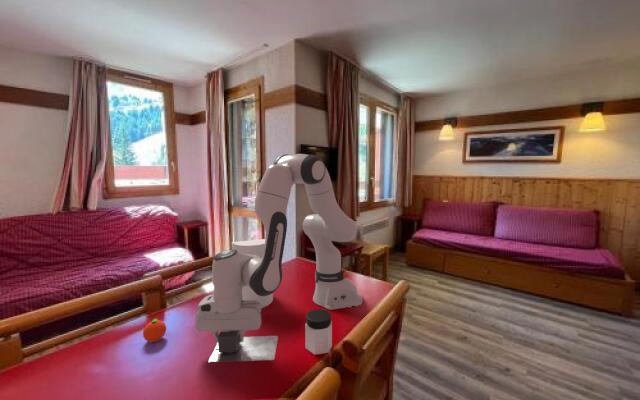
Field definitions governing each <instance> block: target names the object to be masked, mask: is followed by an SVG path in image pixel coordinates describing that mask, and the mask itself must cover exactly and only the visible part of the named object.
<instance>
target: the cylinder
mask: <svg viewBox="0 0 640 400" xmlns="http://www.w3.org/2000/svg"><path fill="white" fill-rule="evenodd" d="M265 240H266V238H262V239H261V238H260V239H251V240H240V241H231V249H234V250H237V251H239V252H241V253H244V254H253V255H257V256H259V257H261V258H262V257H263V251H264V245H265ZM242 298H243V301H245V300H248V301H252V300H256V301H257V302H259V303H260V304H261V309H263V308H266V307H267V306H269V305H270V304H271V303H272V302H273V301H274V292H273V293H272V294H270V295H268V296H259V295H257V294H256V293H255V292H254V291H253V290H252V289H251V288H250V287H249V286H244V287H243V288H242Z"/></svg>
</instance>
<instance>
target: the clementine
mask: <svg viewBox="0 0 640 400" xmlns="http://www.w3.org/2000/svg"><path fill="white" fill-rule="evenodd" d="M166 331H167V326H166V323H165V322H164V321H162V320H159V319H158V318H154V319H153V320H152V321H150V322H149V323H147V324H146V325H145V327H144V328H143V331H142V336H143V339H144V340H145V341H147V342H149V343H154V342H158V341H160V340H161V339H163V337H164V336H165V335H166Z"/></svg>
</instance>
